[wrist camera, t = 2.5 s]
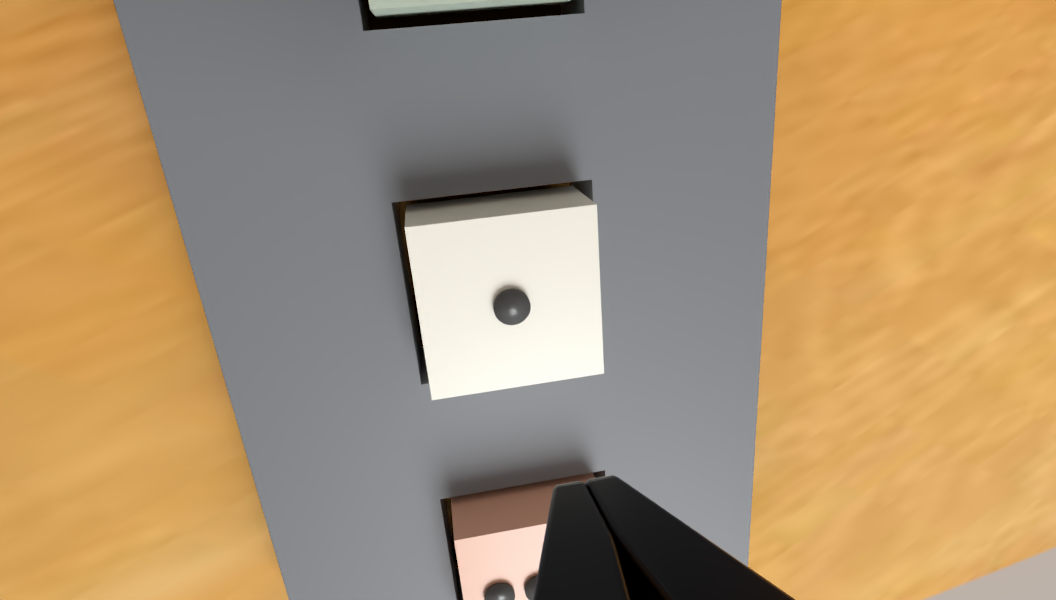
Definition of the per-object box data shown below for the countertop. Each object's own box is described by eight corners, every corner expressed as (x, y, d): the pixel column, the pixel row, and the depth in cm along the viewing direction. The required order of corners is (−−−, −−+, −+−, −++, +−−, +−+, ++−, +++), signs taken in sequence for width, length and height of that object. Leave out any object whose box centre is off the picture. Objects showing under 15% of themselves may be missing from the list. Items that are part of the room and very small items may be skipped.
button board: (322, 615, 22) (311, 678, 20) (89, -249, 13) (21, -315, 11) (715, 538, 24) (746, 587, 22) (742, -265, 15) (800, -324, 13)
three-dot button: (466, 593, 21) (473, 661, 19) (449, 485, 20) (454, 544, 17) (594, 567, 22) (616, 631, 19) (587, 461, 20) (611, 515, 18)
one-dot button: (430, 357, 18) (431, 403, 16) (405, 205, 16) (404, 229, 14) (580, 335, 19) (605, 375, 16) (572, 185, 17) (598, 205, 15)
